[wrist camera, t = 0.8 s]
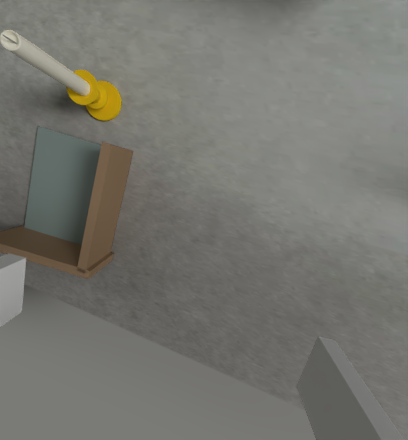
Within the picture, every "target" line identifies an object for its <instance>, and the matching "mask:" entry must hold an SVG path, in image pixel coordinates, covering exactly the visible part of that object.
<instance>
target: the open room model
mask: <svg viewBox="0 0 408 440" xmlns="http://www.w3.org/2000/svg"><path fill="white" fill-rule="evenodd" d="M132 155H133V151H131V150H128V149H125V148H121V147H118V146H115V145H111V144H108V143H104V142H102V145H98V144H95V143H92V142H88V141H85V140H82V139H79V138H76V137H72V136H69V135H66V134H63V133H60V132H56V131H53V130H50V129H47V128H43V127H40V126H38V130H37V137H36V145H35V152H34V159H33V167H32V174H31V181H30V189H29V196H28V203H27V210H26V218H25V225H24V226H20V227H16V228H12V229H8V230H4V231H1V232H0V252H2V253H5V254H9V253H10V254H14V255H18V256H22V257H25V258H26V260H28V261H31V262H35V263H38V264H41V265H44V266H48V267H51V268H54V269H57V270H61V271H64V272H67V273H70V274H74V275H77V276H80V277H83V278H87V279H89V278H91V277H92V276H93V275H94V274H96V273H97V272H98V271H99V270H100V269H102V268H103V267H104V266H105V265H107V264H108V263H109V262H110V261H112V259H113V255H114V253H112V252H111V247H112V243H113V239H114V234H115V230H116V225H117V221H118V217H119V212H120V208H121V203H122V199H123V195H124V190H125V186H126V181H127V177H128V173H129V168H130V164H131V159H132Z"/></svg>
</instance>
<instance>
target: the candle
mask: <svg viewBox="0 0 408 440" xmlns="http://www.w3.org/2000/svg"><path fill="white" fill-rule="evenodd" d="M0 42H1V44H2V45H3V47H4V48H6V49H7V50H9V51H11V52H12V53H14V54H15V55H17V56H18V57H19V58H21V59H22V60H24V61H26V62H27V63H29V64H31V65H32V66H34V67H36V68H37V69H39V70H41V71H42V72H44V73H45V74H47V75H49V76H50V77H52V78H54V79H55V80H57V81H59V82H60V83H62V84H63V85H65V86H66V87H67V92H68V94H69V96H70V98H71V99H72V100H73V101H74V102H75V103H77V104H80V105H85V106H86V108H87V110H88V112H89V113H90V114H91V115H92V116H93V117H94V118H96V119H98V120H101V121H109V120H112V119H114V118H115V117H116V116H117V115H118V113H119V112H120V109H121V103H122V102H121V96H120V94H119V92H118V90H117V89H116V88H115V87H114V86H113V85H112V84H110V83H108V82H106V81H96V79H95V78H94V76H93V75H92V74H91V73H89V72H88V71H85V70H76V71H74V72H72V71H71V70H69V69H68V68H67V67H65V66H64V65H62V64H61V63H60V62H58V61H57V60H55V59H54V58H53V57H51V56H50V55H48V54H47V53H45V52H44V51H43V50H41V49H40V48H38V47H37V46H36V45H34V44H33V43H31V42H30V41H28V40H27V39H25V38H24V37H22V36H20V35H19V34H17V33H16V32H14V31H12V30H5V31H3V32H2V33H1V35H0Z"/></svg>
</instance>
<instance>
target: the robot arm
mask: <svg viewBox="0 0 408 440" xmlns="http://www.w3.org/2000/svg"><path fill="white" fill-rule="evenodd" d="M25 266H26V258H25V257H22V256H18V255H14V254H10V253H9V254H6V255H3V256H1V257H0V327H1V326H2V325H3V324H5V323H7V322H8V321H9V320H11V319H12V318H14V317H15V316H16V315H18V314H19V313H21V312H22V302H23V290H24V278H25ZM297 389H298V391H299V394H300V397H301V400H302V402H303V405H304V408H305V410H306V413H307V416H308V419H309V421H310V424H311V427H312V429H313V432H314V435H315V438H316V440H404V439H403V437H402V436H401V434H400V433H399V431H398V430H397V429H396V427H395V426H394V424H393V423H392V421H391V420H390V418H389V417H388V416H387V414H386V413H385V411H384V410H383V408H382V407H381V406H380V404H379V403H378V401H377V400H376V398H375V397H374V395H373V394H372V393H371V391H370V390H369V388H368V387H367V385H366V384H365V383H364V381H363V380H362V378H361V377H360V375H359V374H358V372H357V371H356V370H355V368H354V367H353V365H352V364H351V362H350V361H349V360H348V358H347V357H346V355H345V354H344V352H343V351H342V349H341V348H340V347H339V345H338V344H337V342H336V341H335V340H331V339H327V338H323V337H320V336H318V338H317V340H316V342H315V345H314V347H313V349H312V352H311V354H310V356H309V358H308V361H307V363H306V365H305V368H304V370H303V372H302V375H301V377H300V379H299V381H298V384H297Z"/></svg>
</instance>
